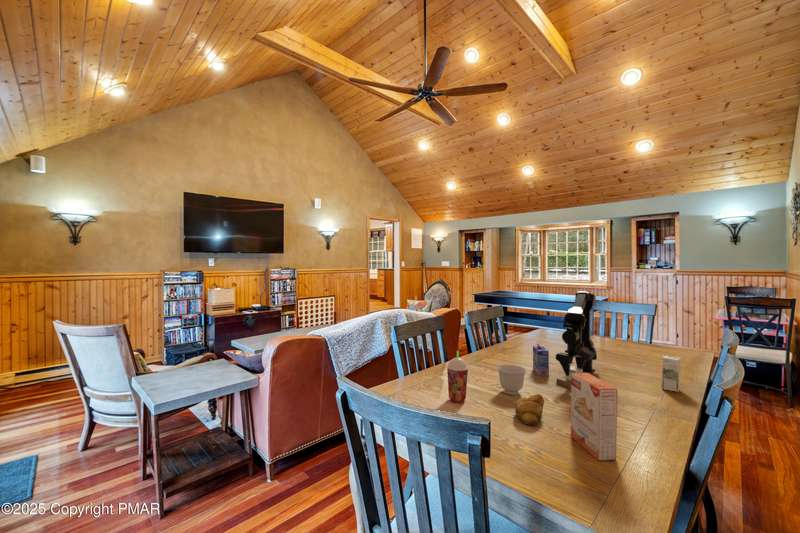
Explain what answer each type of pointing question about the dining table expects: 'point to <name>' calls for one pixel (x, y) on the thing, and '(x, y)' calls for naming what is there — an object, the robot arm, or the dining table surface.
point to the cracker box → (594, 415)
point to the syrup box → (671, 373)
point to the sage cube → (573, 370)
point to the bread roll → (530, 409)
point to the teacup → (511, 378)
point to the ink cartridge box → (541, 360)
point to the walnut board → (564, 382)
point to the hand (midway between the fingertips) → (573, 374)
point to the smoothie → (457, 379)
